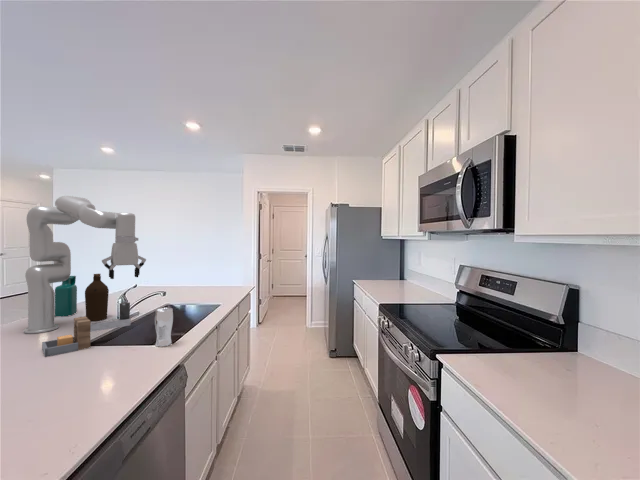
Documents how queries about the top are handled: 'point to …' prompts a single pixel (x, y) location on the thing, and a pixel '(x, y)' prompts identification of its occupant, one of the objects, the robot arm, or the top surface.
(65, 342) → the spacer block
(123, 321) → the grey piece
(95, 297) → the olive oil
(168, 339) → the beer glass
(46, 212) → the robot arm
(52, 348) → the tray
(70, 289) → the teal green bottle
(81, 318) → the brown wooden block
